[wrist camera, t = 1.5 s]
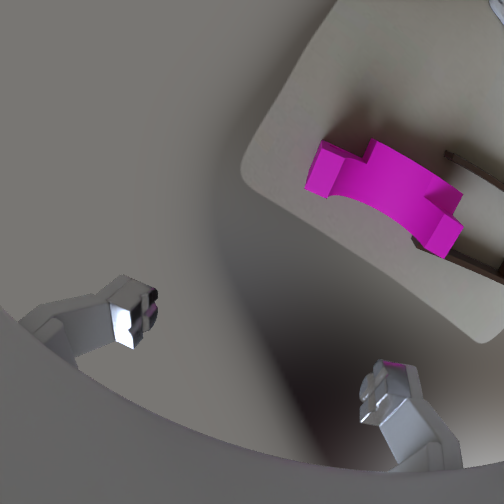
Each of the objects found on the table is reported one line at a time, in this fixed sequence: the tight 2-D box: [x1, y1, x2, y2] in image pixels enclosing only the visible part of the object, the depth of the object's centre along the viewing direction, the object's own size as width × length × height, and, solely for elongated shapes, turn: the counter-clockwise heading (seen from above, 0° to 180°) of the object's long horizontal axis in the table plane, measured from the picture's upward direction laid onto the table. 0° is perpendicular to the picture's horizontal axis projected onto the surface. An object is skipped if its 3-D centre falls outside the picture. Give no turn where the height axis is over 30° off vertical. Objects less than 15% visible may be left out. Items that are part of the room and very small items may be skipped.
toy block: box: [304, 138, 464, 259], centre depth 24 cm, size 15×6×8 cm, turn 71°
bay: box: [411, 150, 504, 285], centre depth 25 cm, size 11×17×2 cm
